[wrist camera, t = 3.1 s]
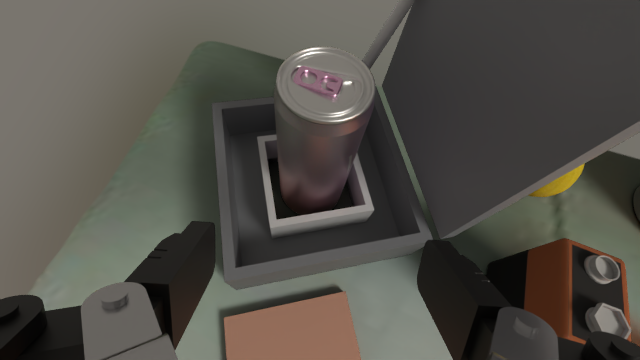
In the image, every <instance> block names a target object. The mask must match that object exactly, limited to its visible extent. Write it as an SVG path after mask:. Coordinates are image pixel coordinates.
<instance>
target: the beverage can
mask: <svg viewBox="0 0 640 360" xmlns="http://www.w3.org/2000/svg"><path fill="white" fill-rule="evenodd" d="M374 96H375V81H374V78H373V75H372V73H371V71H370V69H369V68H368V67H367V65H366V64H365V63H364V62H363V61H361V60H360V59H359V58H358V57H356V56H355V55H353V54H351V53H349V52H347V51H344V50H342V49H338V48H334V47H324V46H317V47H309V48H305V49H302V50H299V51H297V52H295V53H293V54H292V55H291V56H289V57H288V58H287V59H286V60H285V61H284V62H283V63H282V65H281V66H280V68H279V70H278V73H277V78H276V84H275V88H274V107H275V121H276V135H277V149H278V163H279V177H280V190H281V195H282V198H283V200H284V202H285V203H286V205H287V206H288V207H289V208H290V209H291V210H293V211H294V212H296V213H298V214H301V215H307V214H313V213H319V212H325V211H330V210H331V209H333V208H334V207H335V205H336V204H337V202H338V201H339V198H340V196H341V193H342V191H343V188H344V185H345V183H346V180H347V177H348V175H349V172H350V169H351V167H352V164H353V162H354V159H355V156H356V154H357V151H358V148H359V146H360V143H361V140H362V138H363V135H364V132H365V130H366V127H367V125H368V122H369V119H370V117H371V114H372V111H373V108H374Z"/></svg>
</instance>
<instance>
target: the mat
mask: <svg viewBox="0 0 640 360" xmlns="http://www.w3.org/2000/svg"><path fill="white" fill-rule="evenodd" d="M224 327H225V342H226V357H227V360H361V357H360V352H359V348H358V344H357V339H356V335H355V331H354V326H353V322H352V318H351V313H350V309H349V305H348V300H347V296H346V292H345V291H344V292H340V293H335V294H330V295H326V296H321V297H317V298H312V299H307V300H303V301H298V302H294V303H289V304H284V305H280V306H275V307H270V308H266V309H261V310H257V311H252V312H247V313H243V314H238V315H234V316H229V317H224Z"/></svg>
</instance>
